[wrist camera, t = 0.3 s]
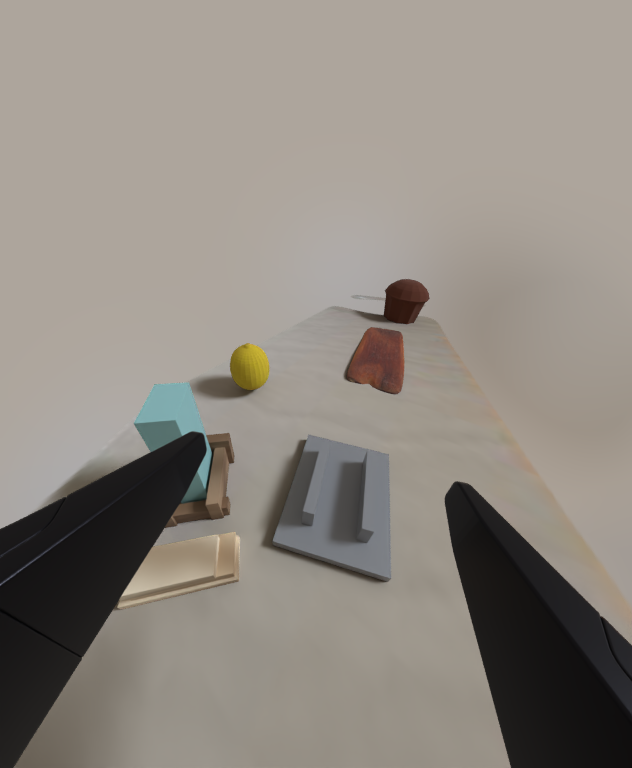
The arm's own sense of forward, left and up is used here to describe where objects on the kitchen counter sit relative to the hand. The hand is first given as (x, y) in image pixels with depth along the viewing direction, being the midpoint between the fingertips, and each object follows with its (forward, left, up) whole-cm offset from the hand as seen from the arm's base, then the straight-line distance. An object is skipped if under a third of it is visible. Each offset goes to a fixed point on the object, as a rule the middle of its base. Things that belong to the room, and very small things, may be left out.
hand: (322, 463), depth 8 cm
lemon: (+21, +14, -17) cm, 30 cm away
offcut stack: (-2, +9, -17) cm, 19 cm away
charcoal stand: (+8, -2, -17) cm, 18 cm away
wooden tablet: (+41, -6, -18) cm, 45 cm away
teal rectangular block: (+5, +12, -17) cm, 21 cm away
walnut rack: (+5, +12, -17) cm, 21 cm away
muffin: (+64, -11, -17) cm, 67 cm away
